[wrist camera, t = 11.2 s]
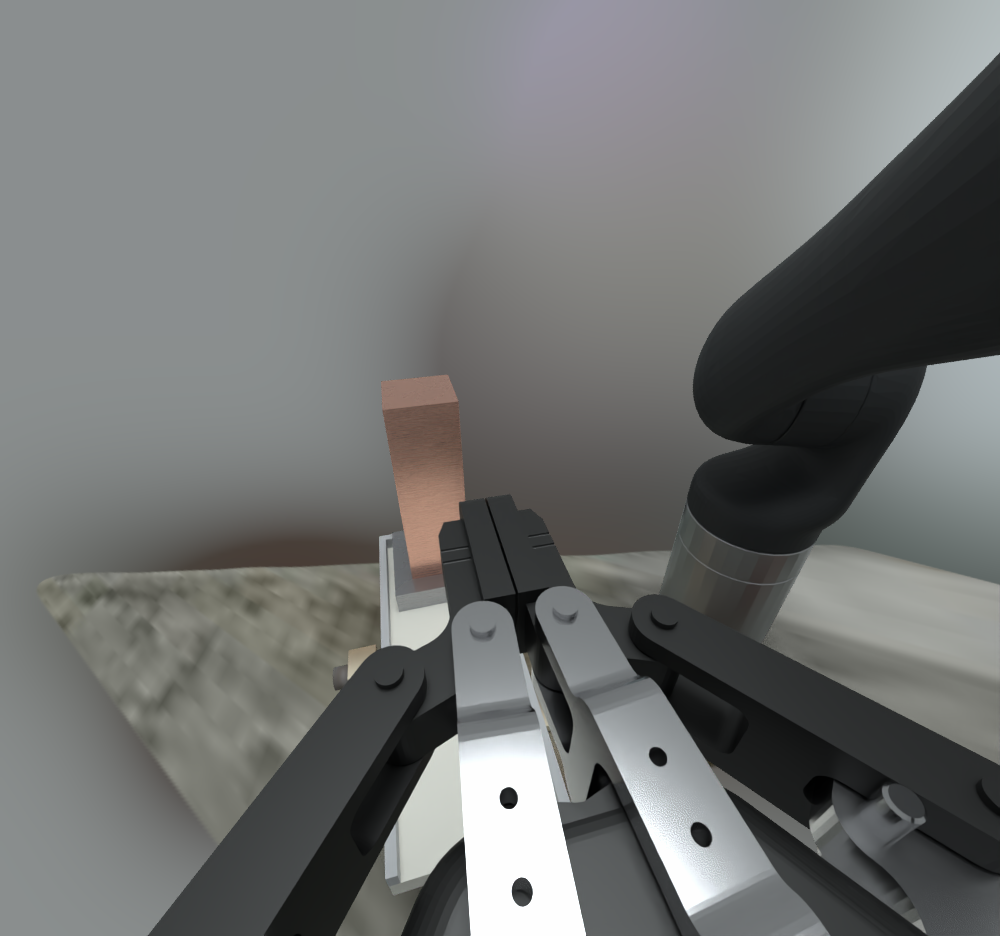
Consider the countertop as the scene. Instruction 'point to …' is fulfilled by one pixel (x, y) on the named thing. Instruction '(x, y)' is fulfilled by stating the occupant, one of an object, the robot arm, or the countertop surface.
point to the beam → (438, 794)
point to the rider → (423, 481)
